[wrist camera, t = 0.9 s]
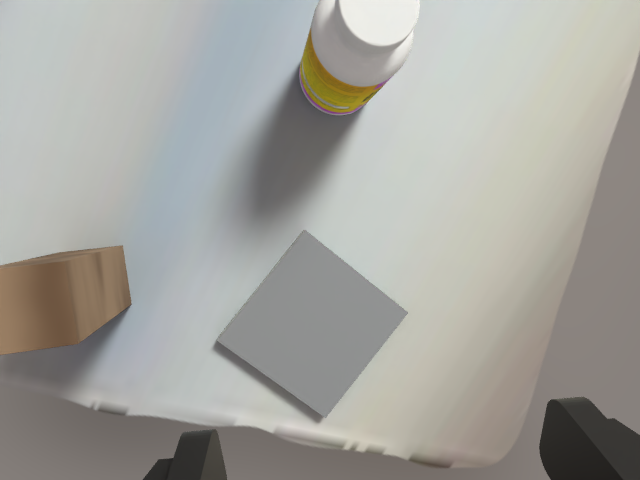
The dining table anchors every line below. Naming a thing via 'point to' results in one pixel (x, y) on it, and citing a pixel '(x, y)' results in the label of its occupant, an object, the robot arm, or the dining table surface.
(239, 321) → the slate tile
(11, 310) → the walnut block
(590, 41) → the dining table surface
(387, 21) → the supplement bottle
